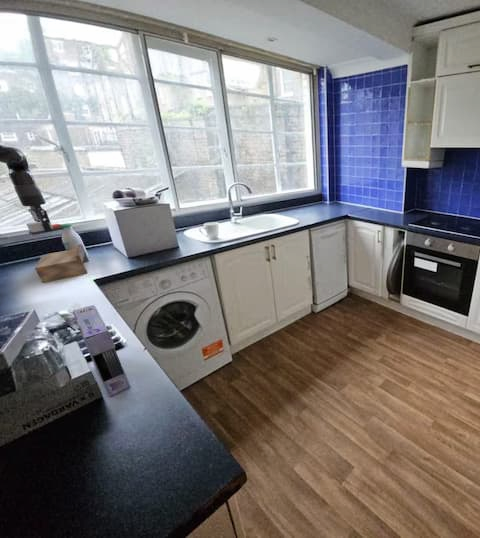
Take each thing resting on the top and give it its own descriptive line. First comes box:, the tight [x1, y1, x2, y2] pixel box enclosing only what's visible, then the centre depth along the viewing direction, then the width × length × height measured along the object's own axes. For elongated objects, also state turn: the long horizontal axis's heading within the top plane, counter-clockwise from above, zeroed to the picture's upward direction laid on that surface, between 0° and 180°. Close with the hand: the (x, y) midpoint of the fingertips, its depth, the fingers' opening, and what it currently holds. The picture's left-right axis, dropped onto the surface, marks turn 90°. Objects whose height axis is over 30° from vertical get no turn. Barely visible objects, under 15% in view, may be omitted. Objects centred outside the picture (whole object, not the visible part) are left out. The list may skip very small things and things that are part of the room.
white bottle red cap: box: [26, 221, 64, 236], centre depth 138 cm, size 11×5×5 cm, turn 150°
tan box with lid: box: [34, 244, 90, 284], centre depth 147 cm, size 16×24×10 cm, turn 39°
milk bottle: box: [60, 222, 90, 258], centre depth 161 cm, size 8×8×20 cm
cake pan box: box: [72, 304, 131, 398], centre depth 74 cm, size 19×5×18 cm, turn 48°
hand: (46, 230), depth 139 cm, fingers closed on white bottle red cap, 4 cm apart
